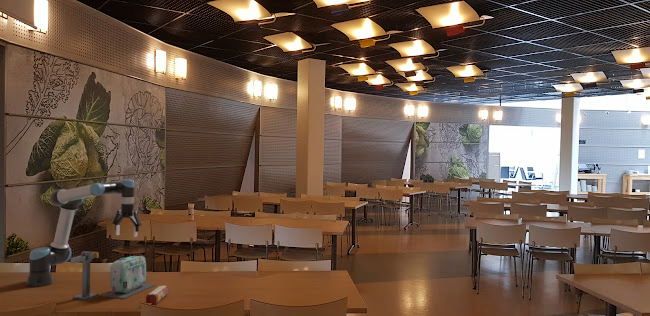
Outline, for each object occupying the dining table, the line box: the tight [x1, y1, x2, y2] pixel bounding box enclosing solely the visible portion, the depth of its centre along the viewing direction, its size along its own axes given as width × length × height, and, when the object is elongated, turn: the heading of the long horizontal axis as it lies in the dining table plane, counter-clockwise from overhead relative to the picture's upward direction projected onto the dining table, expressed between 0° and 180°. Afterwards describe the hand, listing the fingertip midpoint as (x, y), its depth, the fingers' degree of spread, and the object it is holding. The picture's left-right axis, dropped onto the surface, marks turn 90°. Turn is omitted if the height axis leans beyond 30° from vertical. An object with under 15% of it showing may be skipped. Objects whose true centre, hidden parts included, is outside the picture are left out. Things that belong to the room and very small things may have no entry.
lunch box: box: [110, 255, 147, 293], centre depth 306 cm, size 27×10×21 cm, turn 168°
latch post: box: [72, 250, 100, 301], centre depth 290 cm, size 10×10×28 cm
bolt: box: [70, 251, 100, 264], centre depth 288 cm, size 6×18×3 cm, turn 166°
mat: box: [101, 283, 156, 300], centre depth 306 cm, size 16×32×1 cm, turn 166°
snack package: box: [145, 285, 169, 305], centre depth 288 cm, size 21×7×7 cm, turn 0°
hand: (126, 235), depth 311 cm, fingers open, 13 cm apart
